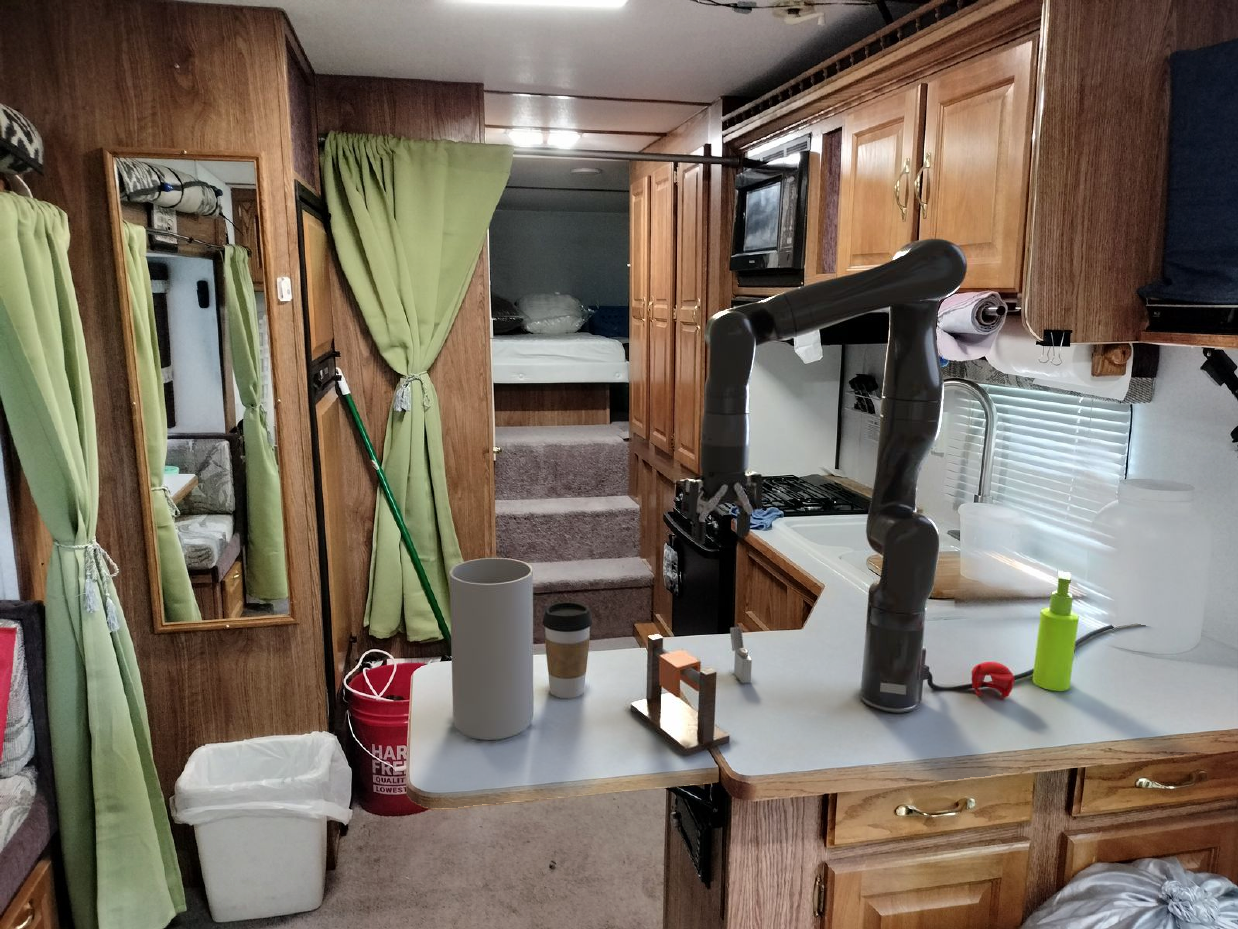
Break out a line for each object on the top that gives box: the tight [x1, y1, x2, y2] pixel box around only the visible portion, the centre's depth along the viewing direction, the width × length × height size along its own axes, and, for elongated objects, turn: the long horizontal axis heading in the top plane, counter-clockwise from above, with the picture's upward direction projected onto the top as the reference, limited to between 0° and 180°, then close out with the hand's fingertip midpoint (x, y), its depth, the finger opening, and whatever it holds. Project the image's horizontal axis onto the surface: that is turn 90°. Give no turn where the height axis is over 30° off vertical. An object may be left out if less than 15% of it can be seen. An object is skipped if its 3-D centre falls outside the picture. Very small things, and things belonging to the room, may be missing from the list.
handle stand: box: [630, 633, 731, 757], centre depth 132 cm, size 8×16×12 cm, turn 30°
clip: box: [659, 649, 702, 698], centre depth 132 cm, size 4×5×5 cm
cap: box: [971, 661, 1015, 700], centre depth 145 cm, size 8×6×6 cm
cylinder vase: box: [449, 557, 534, 741], centre depth 131 cm, size 12×12×25 cm
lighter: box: [729, 626, 753, 684], centre depth 151 cm, size 7×2×8 cm, turn 12°
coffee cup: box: [541, 601, 593, 699], centre depth 143 cm, size 8×8×15 cm
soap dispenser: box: [1032, 570, 1080, 692], centre depth 149 cm, size 6×7×20 cm
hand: (721, 539), depth 136 cm, fingers open, 8 cm apart
